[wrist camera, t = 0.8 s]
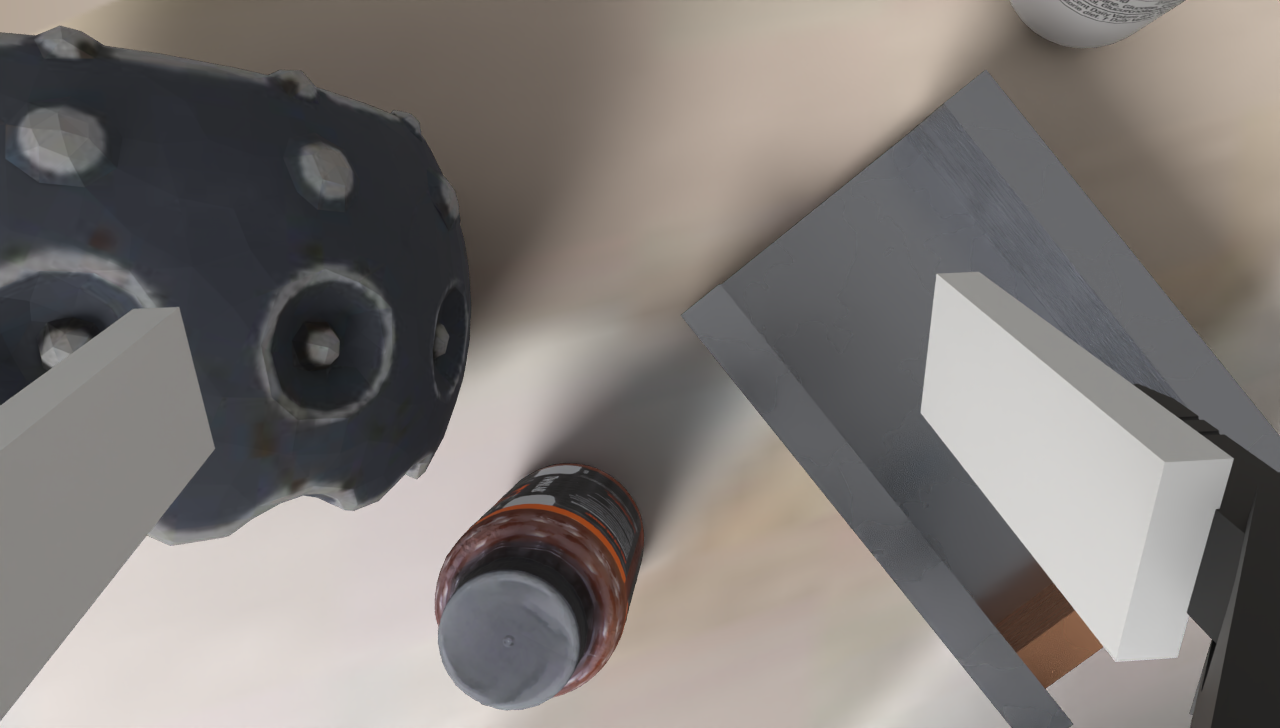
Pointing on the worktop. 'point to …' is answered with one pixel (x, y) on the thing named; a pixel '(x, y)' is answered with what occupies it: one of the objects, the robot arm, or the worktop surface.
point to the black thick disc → (236, 262)
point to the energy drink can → (1089, 19)
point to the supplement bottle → (540, 587)
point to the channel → (896, 361)
